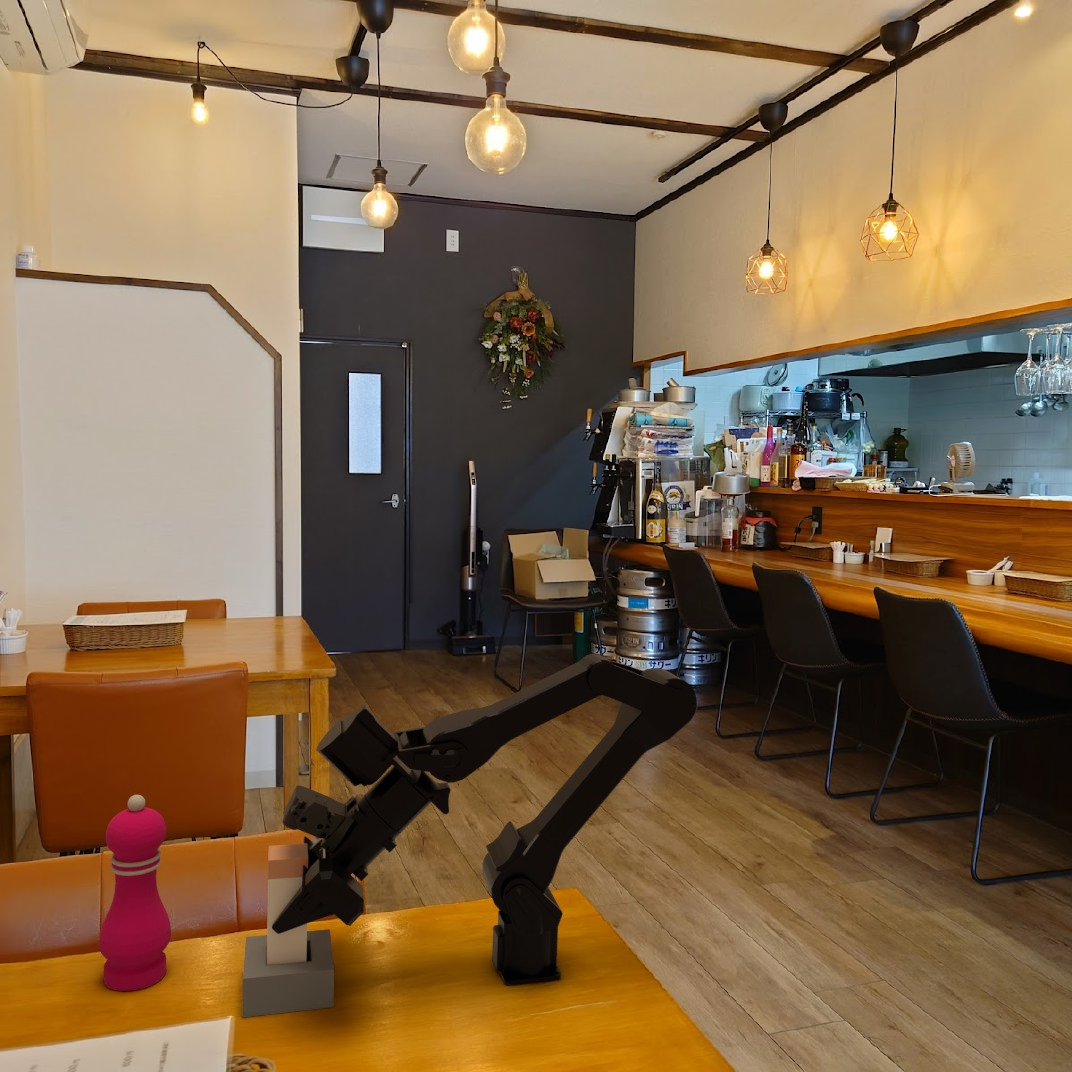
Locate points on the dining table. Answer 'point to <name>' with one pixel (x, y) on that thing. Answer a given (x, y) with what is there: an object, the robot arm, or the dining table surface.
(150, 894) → the pepper mill
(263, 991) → the socket block
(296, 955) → the plug
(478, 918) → the dining table surface
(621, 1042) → the dining table surface
